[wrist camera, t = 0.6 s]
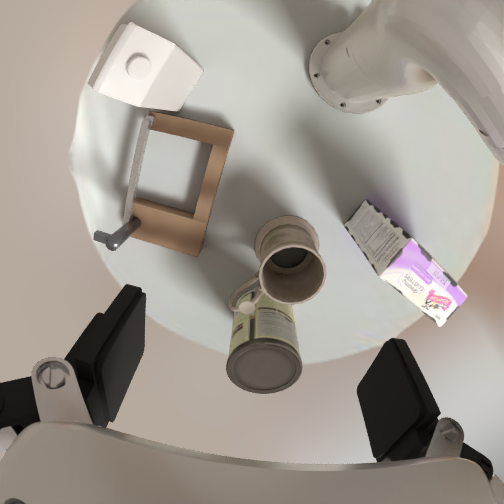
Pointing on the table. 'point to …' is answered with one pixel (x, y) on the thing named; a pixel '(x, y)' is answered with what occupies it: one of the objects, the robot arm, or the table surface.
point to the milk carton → (145, 70)
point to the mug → (285, 279)
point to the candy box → (405, 263)
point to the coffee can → (264, 347)
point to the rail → (137, 167)
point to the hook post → (118, 234)
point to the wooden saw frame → (194, 225)
